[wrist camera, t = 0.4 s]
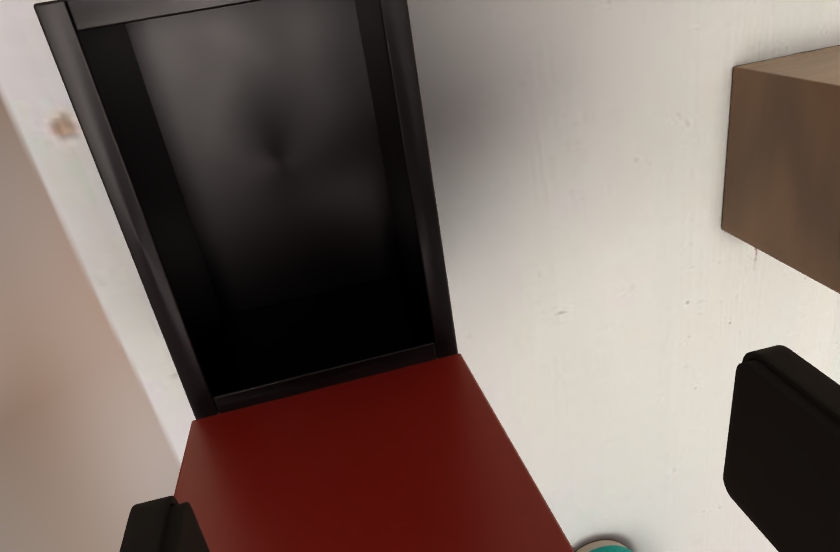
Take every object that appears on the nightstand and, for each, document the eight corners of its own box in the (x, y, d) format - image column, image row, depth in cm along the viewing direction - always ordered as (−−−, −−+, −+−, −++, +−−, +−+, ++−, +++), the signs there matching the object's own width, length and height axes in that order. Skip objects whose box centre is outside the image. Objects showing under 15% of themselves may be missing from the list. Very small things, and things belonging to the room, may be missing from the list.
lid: (43, 1023, 8) (66, 1049, 9) (708, 781, 9) (708, 813, 10) (191, 420, 21) (198, 439, 22) (460, 352, 23) (463, 371, 23)
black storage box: (96, -2, 22) (31, 3, 16) (365, -47, 23) (399, -56, 17) (211, 327, 28) (196, 421, 22) (419, 278, 29) (458, 355, 23)
